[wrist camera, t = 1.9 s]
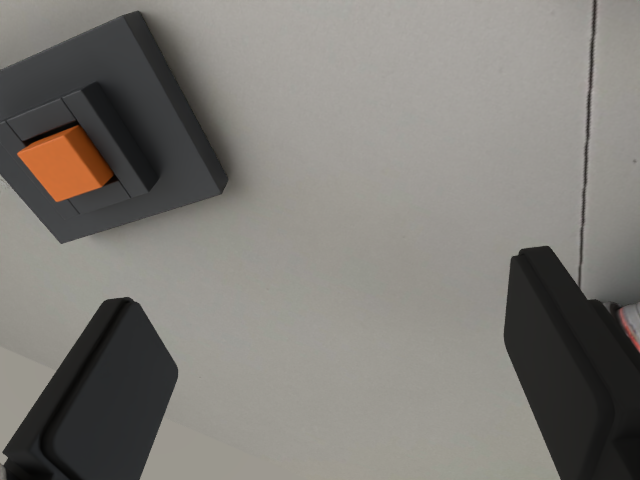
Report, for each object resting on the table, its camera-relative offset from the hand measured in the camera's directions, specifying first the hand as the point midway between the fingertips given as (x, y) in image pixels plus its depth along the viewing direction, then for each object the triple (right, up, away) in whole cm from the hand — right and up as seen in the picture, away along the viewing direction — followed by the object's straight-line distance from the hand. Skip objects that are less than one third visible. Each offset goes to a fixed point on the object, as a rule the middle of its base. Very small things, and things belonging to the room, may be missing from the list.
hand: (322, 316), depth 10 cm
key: (-13, +6, +12) cm, 19 cm away
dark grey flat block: (-13, +8, +14) cm, 21 cm away
